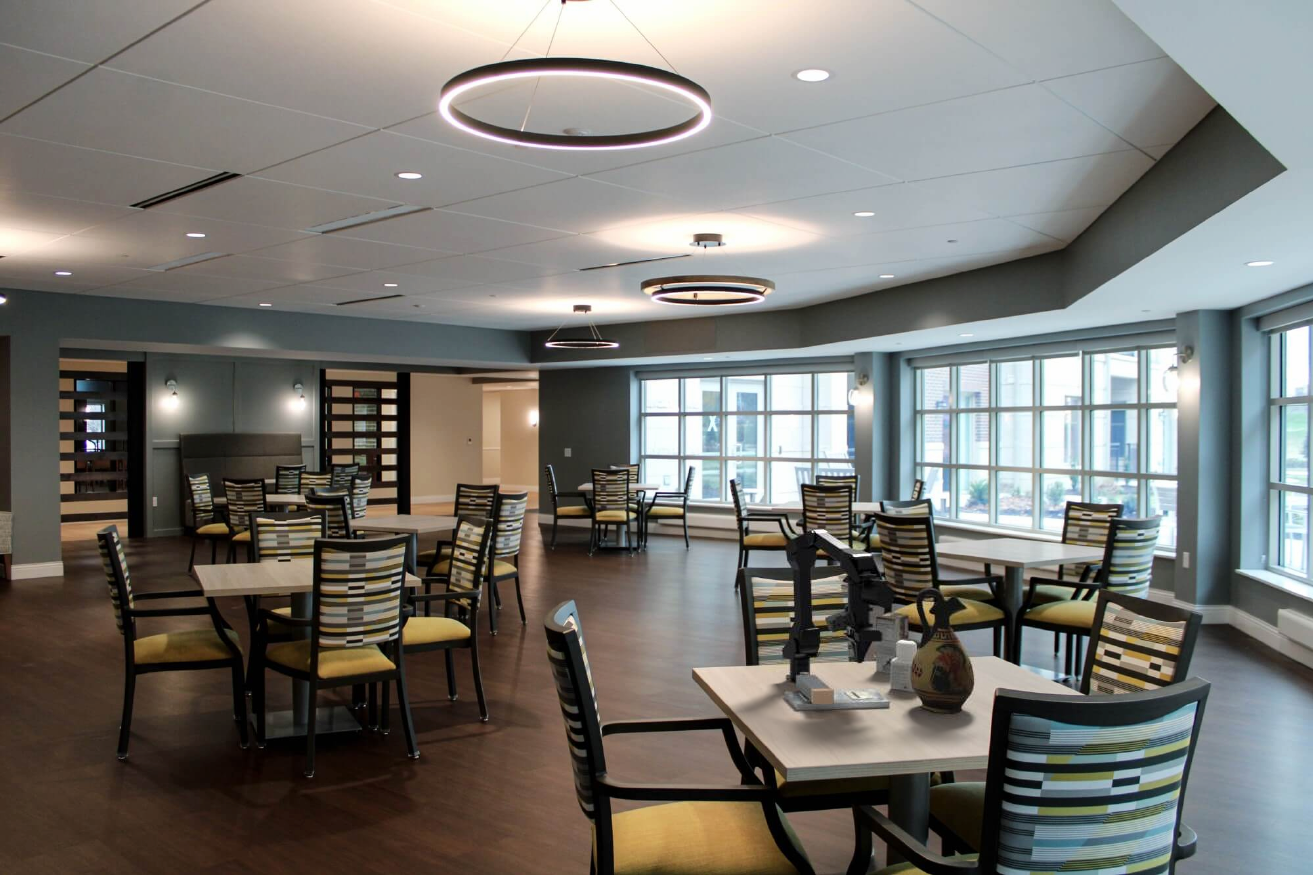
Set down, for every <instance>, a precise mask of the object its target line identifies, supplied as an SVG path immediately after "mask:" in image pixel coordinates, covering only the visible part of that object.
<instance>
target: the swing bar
mask: <svg viewBox="0 0 1313 875" xmlns="http://www.w3.org/2000/svg"><path fill="white" fill-rule="evenodd" d="M795 684H796V685H795V686H796V688H797V689H798V691H801V692H802V693H803V694H804V695H805V696H806V697H807V698H808V699H809V700H810V701H811V702H812V703H813V704H834V690H835V689H833V688H831V687H830V686H829V685H827V684H826V683H825V682H824V681H823V680H821V678H819V677H818V676H817V675H815V674H810V675H809V673H808V672H800V675H796V682H795Z"/></svg>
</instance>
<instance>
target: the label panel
mask: <svg viewBox="0 0 1313 875" xmlns="http://www.w3.org/2000/svg"><path fill="white" fill-rule="evenodd" d="M833 690H834V704H813V703H812V702H811V701H810V700H809V699H808V698H807V697H806V696H805V695H804V694H803V693H802V692H801V691H800V690H797V691H796V690H795V691H793V690H792V691H790V690H789V691H784V699H785V700H787V702H788V703H789V704H790V705H791V706H792V707H793V708H794V709H795V710H796V711H809V710H810V711H811V710H812V711H813V710H814V711H815V710H841V709H842V710H844V709H845V710H846V709H849V710H850V709H874V708H876V709H878V708H879V709H880V708H881V709H882V708H890V707H891V705H890V704H891V702H890V700H888V699H887V698H886V697H885V696H883V695H882V694H880V693H879V692H878V691H876V690H875V689H874V688H870V689H869V688H866V689H861V688H860V689H833Z"/></svg>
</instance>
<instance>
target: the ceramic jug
mask: <svg viewBox="0 0 1313 875" xmlns="http://www.w3.org/2000/svg"><path fill="white" fill-rule="evenodd" d="M928 597H934V598H936V600H937V602H935V603H934V604H933V605H932V606H931V607H930V608H929V610H928V612H929V613H928V614H931V615H933V616H935V617H936V618H935V620H934V623H933V625H932V627H931V628H930V625H929V622H928V619H927V617H926V613H925V610H924V603H923V601H924V599H926V598H928ZM915 601H916V602H915V604H916V605H915V606H916V607H915V608H916V610H917V615H918V616H919V620H920V621H919V622H920V623H921V626H922V629H923V632H922V635H921V638H920V641H919V642H920V646H919V648H918V650H917V652H916V654H915V656H914V658H913V662H912V665H911V672H910V680H911V685H912V688H913V690H914V692H913V693H915V695H916V696H917V697H918V698H919V700H920V701H921V707H922V708H924V709H927V710H929V711H932V712H934V713H941V714H948V715H949V714H950V715H954V714H957V713H961V712H963V708H962V707H963V705H964V704H965V702H966V701H967V700H968V699H969V698H970V696H972V693H973V691H974V686H975V674H974V673H975V672H974V669H973V664H972V662H971V661H972V660H971V659H970V657H969V654H968V652H967V650H966V649H965V647H964V645H963V644H962V641H961V640H960V639H959V637H958V636H957V634H956V633H955V631H954V629H953V628H952V627H951V622H950V617H951V616H952V615H954V614H957V613H959V612H962V611H966V610H967V609H968V607H967V606H966V605H965V604H964V603H963V602H962V601H961V600H960V599H959V597H957V596H956V595H955V594H954V595H951V596H950V597H948V598H947V599H945V597H944V595H943V594H942V592H941V591H940V590H938V589H937V588H935V587H934V588H933V587H925V588H922V589H921V590H920V591H919V592H918V594H917V596H916V600H915Z"/></svg>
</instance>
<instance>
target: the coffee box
mask: <svg viewBox="0 0 1313 875" xmlns="http://www.w3.org/2000/svg"><path fill="white" fill-rule="evenodd" d="M875 619H876V620H875V622H876V625H875V626H876V627H875V628H876V629H878V630H879V631H880V632H881V633H882V634H883V639H882V641H880V642H876V644H875V646H876V648H875V649H876V650H875V654H876V655H875V657H876V659H875V660H876V661H875V666H876V667H875V668H876V669H875V670H876V672H880V673H885V674H890V675H891V660H893V659H894V658H896V657H897V656H896V642H897V641H898V640H900V639H910V638H909V614H903V613H898V612H892V611H891V612H886V613H883V614H880V615H877V616H876V617H875Z"/></svg>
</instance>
